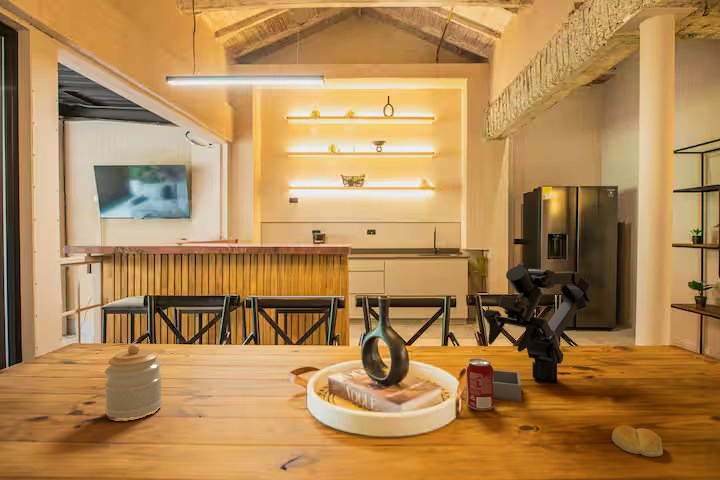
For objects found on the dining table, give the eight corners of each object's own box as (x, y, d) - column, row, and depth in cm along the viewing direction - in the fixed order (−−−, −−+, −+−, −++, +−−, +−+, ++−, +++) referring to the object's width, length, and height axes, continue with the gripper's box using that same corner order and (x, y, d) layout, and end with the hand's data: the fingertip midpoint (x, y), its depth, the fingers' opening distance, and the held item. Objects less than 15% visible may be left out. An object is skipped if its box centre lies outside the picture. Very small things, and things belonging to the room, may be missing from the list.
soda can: (495, 413, 103) (494, 366, 103) (467, 411, 105) (467, 364, 105) (492, 402, 110) (491, 358, 110) (466, 400, 111) (465, 356, 111)
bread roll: (612, 434, 93) (612, 416, 93) (661, 444, 88) (661, 426, 88) (611, 450, 86) (611, 431, 86) (664, 462, 81) (664, 442, 81)
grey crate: (518, 387, 121) (518, 372, 120) (521, 402, 110) (521, 385, 110) (480, 383, 124) (480, 368, 124) (479, 397, 114) (479, 381, 114)
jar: (173, 405, 111) (172, 340, 111) (132, 426, 99) (131, 353, 99) (136, 399, 115) (135, 336, 115) (93, 419, 103) (91, 349, 103)
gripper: (486, 282, 124) (463, 323, 118) (546, 288, 109) (522, 336, 103) (502, 305, 129) (480, 346, 122) (561, 314, 114) (539, 361, 107)
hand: (503, 347), depth 114 cm, fingers open, 9 cm apart
